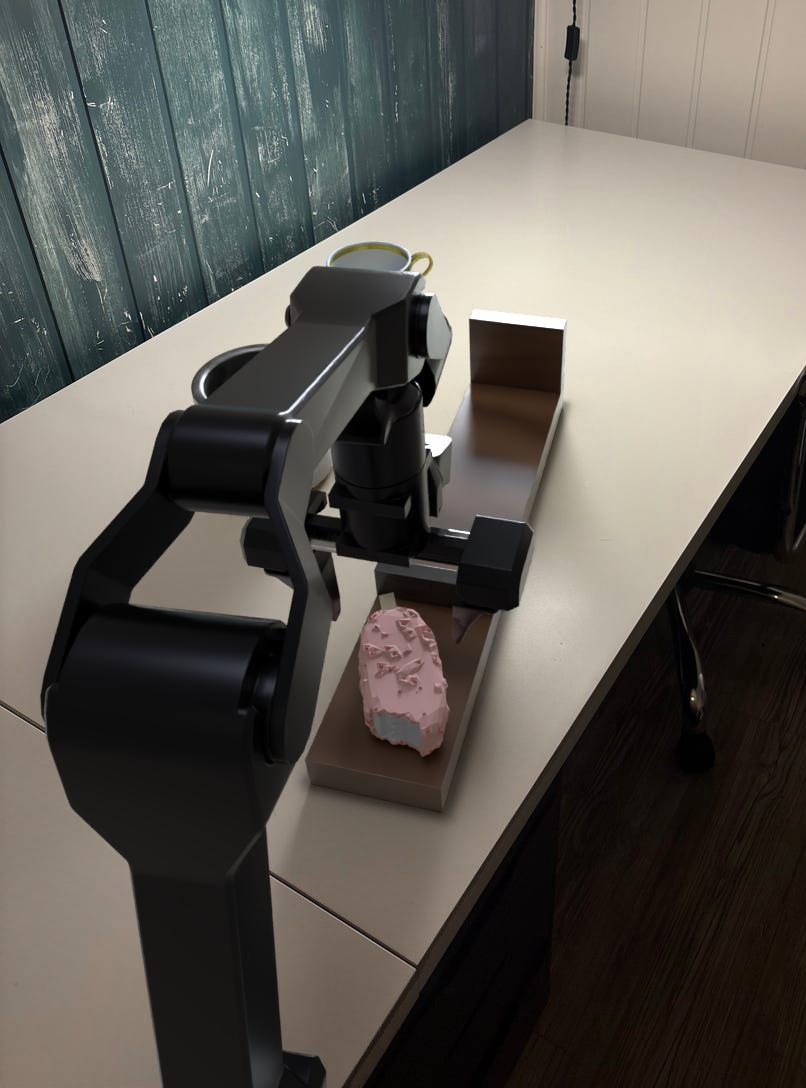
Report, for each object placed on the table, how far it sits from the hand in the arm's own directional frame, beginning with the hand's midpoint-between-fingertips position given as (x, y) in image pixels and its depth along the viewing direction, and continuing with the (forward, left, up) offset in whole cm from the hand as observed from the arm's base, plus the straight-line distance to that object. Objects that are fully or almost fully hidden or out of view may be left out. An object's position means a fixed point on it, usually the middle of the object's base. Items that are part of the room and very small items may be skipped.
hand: (396, 627), depth 68 cm
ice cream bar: (0, 0, -7) cm, 7 cm away
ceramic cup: (+53, +19, -10) cm, 58 cm away
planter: (+25, +22, -10) cm, 35 cm away
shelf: (+17, 0, -10) cm, 20 cm away
